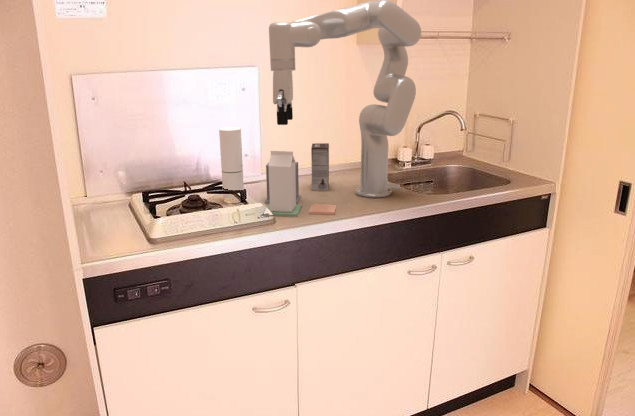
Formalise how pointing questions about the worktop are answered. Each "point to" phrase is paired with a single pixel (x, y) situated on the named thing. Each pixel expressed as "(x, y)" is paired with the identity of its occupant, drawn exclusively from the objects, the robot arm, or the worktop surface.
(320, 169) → the coffee box
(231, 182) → the cylindrical container
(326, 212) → the terracotta tile
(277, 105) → the robot arm
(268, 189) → the wall box
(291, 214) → the green mat
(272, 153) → the milk carton
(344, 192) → the worktop surface
